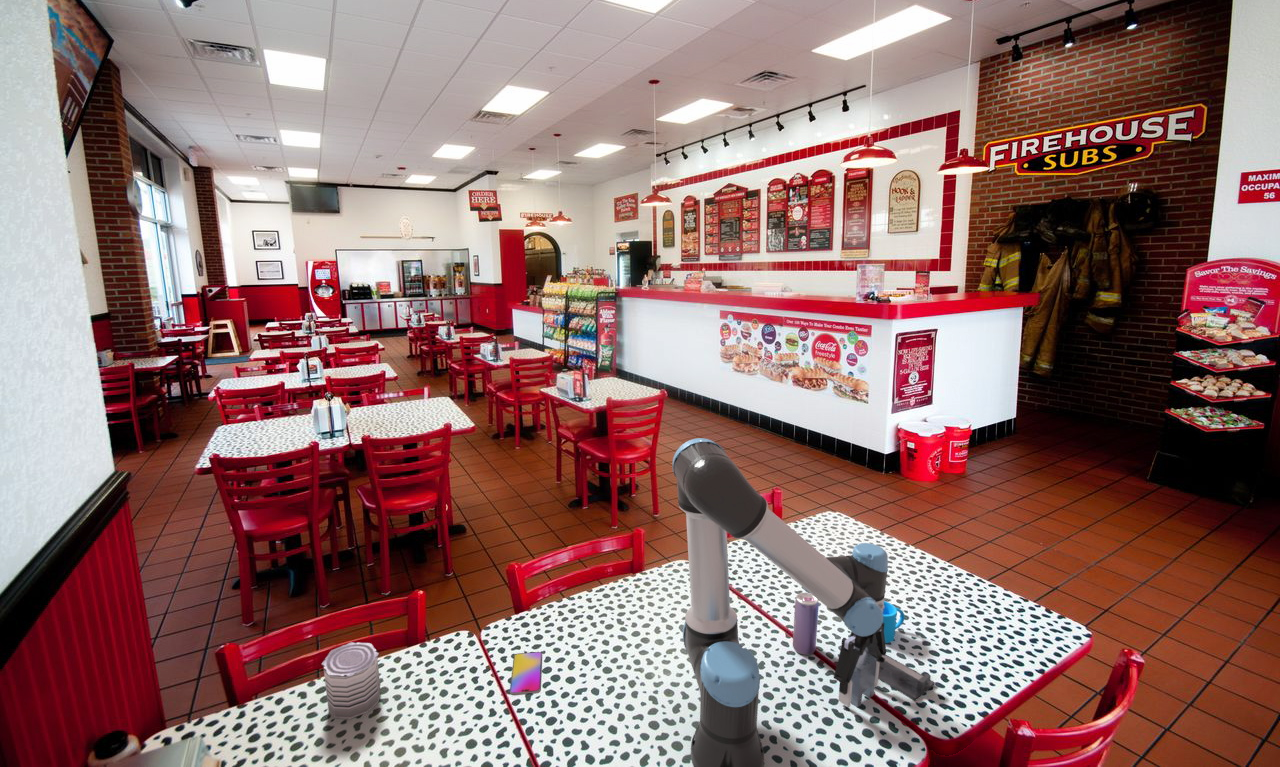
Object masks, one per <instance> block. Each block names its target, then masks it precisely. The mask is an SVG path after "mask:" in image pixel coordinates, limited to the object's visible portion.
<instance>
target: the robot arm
mask: <svg viewBox="0 0 1280 767" xmlns="http://www.w3.org/2000/svg"><path fill="white" fill-rule="evenodd" d="M672 472H673V475H674V477H675V478H676V485H677V487H676V488H677V489H676V490H677V500H678V502H677V503H678V507H679V509H680V510H681V511H683V512H684V513H685V517H686V519H685V520H686V537H687V552H688V555H687V556H688V570H689V572H688V574H689V588H690V590H689V591H690V605H691V607H689V608H688V609H687V611H686V613H685V616H684V619H685V620H684V624H683V628H682V640H683V646H684V649H685V651H686V653H687V656H688V659H689V661H690V664H691V668H692V671H693V673H694V677H695V680H696V682H697V687H698V690H699V693H700V694H699V695H700V707H699V715H700V716H699V722H698V724H697V727H696V729H695V731H694V733H693V736H692V739H691V741H690V742H691V744H690V760H691V763H692V767H764V765H765V764H764V761H765V751H764V747H763V744H762V741H761V738H760V734H759V731H758V729H757V728H758V711H759V694H760V693H759V690H760V685H761V679H760V676H761V675H760V667H759V664H758V661H757V659H756V657H755V655H754V654H753V652H751V651H750V650H749V649H748V648H747V647H742V644H740V642H739V641H740V640H739V630H738V628H739V627H738V614H737V612H736V611H735V610H734V608H733V607H731V605H730V604H731V601H730V580H729V577H730V576H729V554H728V551H729V550H728V534H729V536H731V537H733V538H734V539H736V540H740V539H744V540H745V541H746V542H747V543H748V544H749V545H751V546H752V547H753V548H754V549H756V550H757V551H758V552H759V553H760V554H762V555H763V556H764V557H765V558H767V560H769V561H770V562H771V563H772V564H774V565H775V566H777V567H778V568H779V569H780V570H781V571H782V572H784V573H785V574H787V575H788V576H789V577H790V578H791V579H792V580H794V582H796V583H797V584H798V585H800V586H801V587H802V588H803V590H804V591H805V593H809V594H812V595H813V596H814V597H816V598H817V599H818V602H819V601H820V602H821V603H822V604H823V605H824V606H825V607H826V608H827V609H828V610H830V612H832V613H833V614H835V615H836V616H837V618H839V619H841V621H842V622H843V623H844V626H845V627H846V628H848V630H850V631H851V632H850V634H849V637H848V638H846V637H842V639H841V645H840V646H841V648H840V651H839V656H838V659H837V663H836V667H835V671H834V674H833V679H834V680H836V681H838V682H839V685H838V686H839V688H838V692H839V693H838V702H840V703H841V704H843V705H844V706H846V707H847V708H850V707H851V705H852V704H851V694H852V681H851V678H852V675H853V672H854V670H855V667H856V665H857V662H858V659H859V657H860V656H861V655H863V653H864V650H865V648H866V647H867V649H868V651H869V653H870V655H872V656H873V657H875V658H877V662H876V673H875V684H874V688H877V687H878V683H879V679H878V675H879V664H880V662H882V663H883V662H884V661H885V658H883V657H882V655H884V656H885V655H887V646H886V643H885V637H884V625H885V624H884V623H883V609H884V607H885V606H884V601H885V595H886V588H887V587H886V586H887V577H888V572H889V569H888V567H889V557H888V553H887V551H886V550H885V549H884V548H883V547H881V546H880V545H877V544H874V543H870V542H869V543H868V542H861V543H859V544H856V545H854V546H853V549H852V553H851V554H850V555H843V556H841V555H840V556H824V555H823V554H822V552H821V553H820V552H819V551H818V550H817V549H816V548H815V547H814V546H813V545H812V544H810V543H809V542H808V541H807V540H805V539H804V538H803V537H802V536H801V535H800V534H799V533H797V532H796V531H795V530H794V529H793V528H791V527H790V525H788V524H787V523H786V522H784V520H782V518H780V517H779V516H777V515H776V514H775V513H774V512H773V511H772V510H771V509H770V508H769V504H768V501H767V499H766V498H765V497H764V496H762V494H760V493H759V492H758V491H757V490H756V489H755V488H754V487H753V486H752V485H751V483H750V482H749V481H748V479H747V478H746V476H744V474H743V472H742V471H741V470H740V469H739V467H738V466H737V465H736V463H735V462H734V461H733V460H732V459H731V458H730V457H729V456H728V454H727V453H726V451H725V449H724V448H723V447H722V446H721V445H720V444H718V443H717V442H715V441H713V440H712V439H709V438H703V437H701V438H692V439H689V440H687V441H686V442H684V443H683V444H681V445H680V446H679V448H677V450H676V451H675V453H674V455H673V457H672ZM855 647H857V648H858V649H860V650H857V649H855Z"/></svg>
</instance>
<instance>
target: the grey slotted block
mask: <svg viewBox="0 0 1280 767" xmlns="http://www.w3.org/2000/svg"><path fill="white" fill-rule="evenodd" d="M855 649H857V650H860V649H858V648H857V647H855ZM864 651H865V652H867V653H868V654H870V653H869V651H868V649H867V647H866V648H865V650H864ZM882 657H883V658H885V661H884V662H883V663H882V662H880V664H879V675H878V680H880V681H881V682H883V683H884V684H886V685H888V686H889V687H891V688H893V689H894V690H896V691H898V692H900V693H901V694H903V695H905V696H906V697H907V698H910V700H912V701H914V702H916V701H917V700H918V699H920V698H921V697H922V696H923V695H924V694H926V693H927V692H928V691H929V690H931V689H932V688H933V687H934V686H935V681H933V680H932V678H931V675H930V674H928V673H926V674H924V675H922V673H921V674H920V673H919V672H917V671H915V670H914V669H912V668H910V667H909V666H907V665H905V664H903V663H901V662H900V661H898V660H896V659H894V658H892V657H891V656H889V655H887V654H886V655H885V656H884V655H882Z"/></svg>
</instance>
